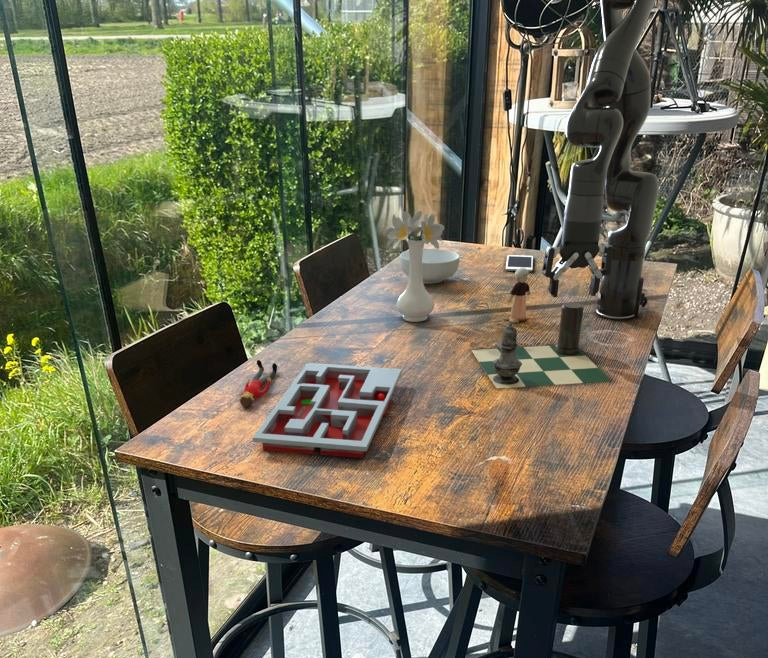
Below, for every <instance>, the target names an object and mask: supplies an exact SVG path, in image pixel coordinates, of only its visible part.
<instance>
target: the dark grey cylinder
mask: <svg viewBox="0 0 768 658" xmlns="http://www.w3.org/2000/svg"><path fill="white" fill-rule="evenodd" d="M584 309H585V307H584V305H583V304H581V303H579V302H573V301H571V302H570V301H569V302H565V303H564V304H562V305H561V311H560V320H559V329H558V338H557V343H556V344H555V345H556V348H555V351H556V352H557V353H559V354H563V355H576V354H578V353H580V350H581V347H582V346H581V345H580V342H581V341H580V339H581V332H582V324H583V317H584Z"/></svg>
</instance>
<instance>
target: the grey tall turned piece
mask: <svg viewBox="0 0 768 658" xmlns="http://www.w3.org/2000/svg"><path fill="white" fill-rule="evenodd" d="M517 336H518V330H517V328H515V327H514V326H513V323H512V322H509V323H508V325H507V326H506V327H504V328H503V329H502V335H501V337H502V338H501V342H500V343H499V347H500V348H501V354H500V358H499V359H496V360H494V361H493V365H494V369H495V371H496V373H497V374H498V375H496V376H494V377H493V380H494V381H495V382H496V383H499V384H504V385H511V384H515V383H517V382H519V378H518V377H517V376H515V375H516V374H517V373H518V372H519V370H520V367H521V366H522V363H521V361H519V360H517V359H516V355H515V354H516V347H519V345H518V343H517Z"/></svg>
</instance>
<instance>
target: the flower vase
mask: <svg viewBox="0 0 768 658" xmlns="http://www.w3.org/2000/svg"><path fill="white" fill-rule="evenodd" d="M422 215H423V220H422V219H421V218H422ZM435 221H436V217H435V214H434V213H433V212H431V213H429V214H428V215H427V213H426V212H425V213H423V211H422V210H419V211H417V212H416V213H414V215H413V216H411V214H410V213H409V212H408V211H402V213H401V218H400V217H399V216H397V217H396V214H393V215H392V221H391V223H392V227H391V226H390V227H388V228H387V229H386V231H385V235H386V236H387V239H388V240H387V243H386V248H388V247H389V246H391V244H392V243H393V244H392V249H393V250H395V249H397V247H398V246H399V245H400V244H401V243H402V241H406V243H407V246H408V250H409V253H410V269H409V276H408V281H407V285H406V287H405V289H404V291H403V292H402V293H401V294H400V295H399V297H398V299H397V300H396V304H395V306H396V309H397V311H398V312H399V314H401V315H402V319H403V320H404V321H406V322H410V323H411V322H412V323H419V322H424V321H426V320H427V319H428V316H429V315H430V314H431V313H432V312H433V311H434V309H435V301H434V299H433V297H432V296H431V294H430V293H428V291H427V290H426V287H425V284H424V283H423V277H422V254H423V249H425V248H424V247H425V245H429V244H431V245H432V246H433V247H434V249H440V244H439V242H438V241H440V242H442V241H443V239H442V237H441V236H442V235H443V231H444V230H445V226H444V225H443V224H441V223H435ZM412 233H413V234H412ZM418 234H419V235H418Z"/></svg>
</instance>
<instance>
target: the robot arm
mask: <svg viewBox="0 0 768 658" xmlns="http://www.w3.org/2000/svg"><path fill="white" fill-rule="evenodd" d="M655 3H656V0H600V10H601V17H602V18H601V19H602V20H601V21H602V31H603V42H602V43H601V45H600V47H599V48H598V49H597V51H596V53H595V55H594V58H593V61H592V63H591V67H590V71H589V74H588V78H587V83H586V85H585V88H584V89H583V91H582V93H581V94H580V97H579V99H577V102H576V103H575V105H574V106H573V108H572V110H571V112H570V114H569V116H568V118H567V120H566V124H565V138H566V140H567V142H568V143H569V145H571V146H573V147H577V148H578V147H579V148H594V149H595V148H596V149H599V151H598V153H597V154H596V155H595V156H594V157H592V158H588V159H580V160H576V161H575V162H573V163H572V165H571V169H570V173H569V174H570V175H569V184H568V193H567V198H566V201H565V208H564V211H563V225H562V234H561V243H560V245H559V246H558V247H557V246H551V245H547V246H546V247H545V249H544V256H543V262H542V268H541V274H542V275H543V276H545V278H549V286H548V293H549V294H550V296H551V297H552V298H558V293H559V286H560V280H559V279H560V277H561V276H562V275H563V274H564V273H565V272H567V270H569V268H570V269H577V268H579V269H586V268H588V269H589V271H590V272H591V274H592V276H590V283H589V290H588V294H589V295H590V296H591V297H595V296H597V297H598V300H597V305H596V306H597V307H596V311H595V312H596V315H597V316H599V317H601V318H603V319H608V320H613V321H614V320H616V321H619V320H620V321H622V320H623V321H624V320H631V319H633V318H638V317H639V313H640V312H639V311H640V307H641V308H645V307H646V305H647V304H648V297H646V296H645V295H646V293H645V292H643V287H644V281H645V279H644V277H643V276H642V272H643V267H644V261H645V254H646V247H647V242H648V238H649V235H650V233H651V230H652V228H653V227H652V226H653V221H654V216H655V212H656V208H657V203H658V198H659V191H660V183H659V180H658V179H659V178H658V177H657V175H655V174H654V173H651V172H646V171H638V170H633V169H632V168H631V153H632V147H633V144H634V143H635V142H634V141H635V140H636V138H637V136H638V134H639V132H640V131H641V129H642V128H643V126H644V124H645V122H646V121H647V118H648V116H649V113H650V110H651V103H652V102H651V97H652V96H651V93H652V92H651V91H652V90H651V89H652V88H651V86H652V85H651V81H652V80H651V73H650V71H649V68H648V66H647V64H646V63H645V61H644V59H643V58H642V56H641V55H640V53H639V52H638V50H637V48H636V47H637V45H638V43H639V40H640V39H641V36H642V33H643V32H644V29H645V27H646V25H647V22H648V20H649V18H650V15H651V13H652V10H653V8H654V6H655ZM623 10H628V12H627V13H626V15H625V16H624V15H623ZM604 200H605V201H604ZM604 202H605V203H606V205H607V208H609V209H610V210H611V211H613V212H617V213H621V214H627V215H628V218H627V221H626V224H625V225H621V226H617V227H614V228H611V229H610V230H608V231H607V235H606V240H605V241H606V242H605V243H604V244H603V245H599V241H600V236H601V228H602V221H603V214H604V207H605V206H604V205H605V203H604ZM558 254H559V256H560V257H561V258H560V259H559V260H558V261H557V262H556V264H555V267H554V268H553V265H554V259H555V258H556V257H557V256H558ZM598 254H600V256H601V266H600V268H599V266H598V264H597V263H596V261H595V260H594V259H595V258H596V257H597V256H598Z"/></svg>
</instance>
